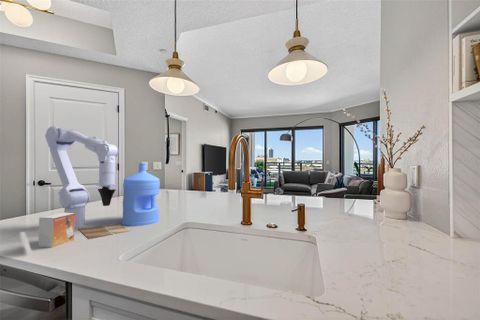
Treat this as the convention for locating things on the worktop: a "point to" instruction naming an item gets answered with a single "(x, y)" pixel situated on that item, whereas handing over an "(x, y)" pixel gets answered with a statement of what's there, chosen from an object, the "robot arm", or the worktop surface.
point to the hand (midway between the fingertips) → (106, 205)
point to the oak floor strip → (116, 228)
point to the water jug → (140, 198)
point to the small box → (56, 229)
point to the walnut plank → (95, 232)
